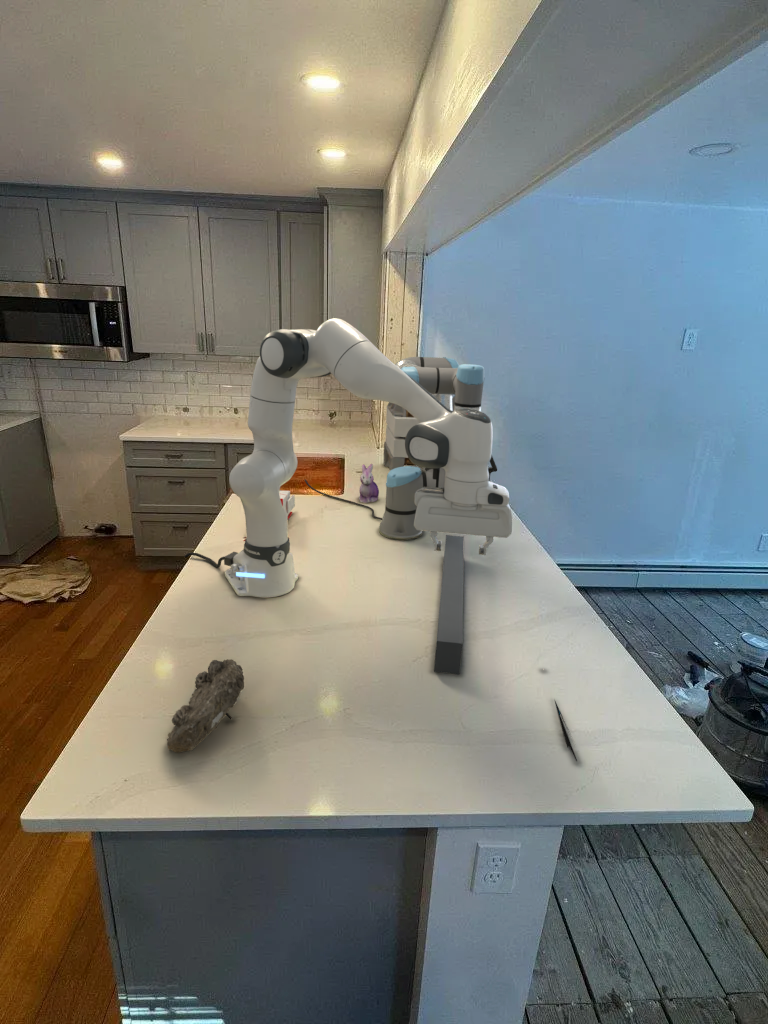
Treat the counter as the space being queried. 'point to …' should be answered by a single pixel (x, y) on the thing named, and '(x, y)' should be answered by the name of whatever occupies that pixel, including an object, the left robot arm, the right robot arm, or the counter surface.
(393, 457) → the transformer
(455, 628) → the post
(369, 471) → the figurine
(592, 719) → the counter surface
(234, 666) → the fossil
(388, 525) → the right robot arm
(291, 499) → the toy
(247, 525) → the left robot arm
